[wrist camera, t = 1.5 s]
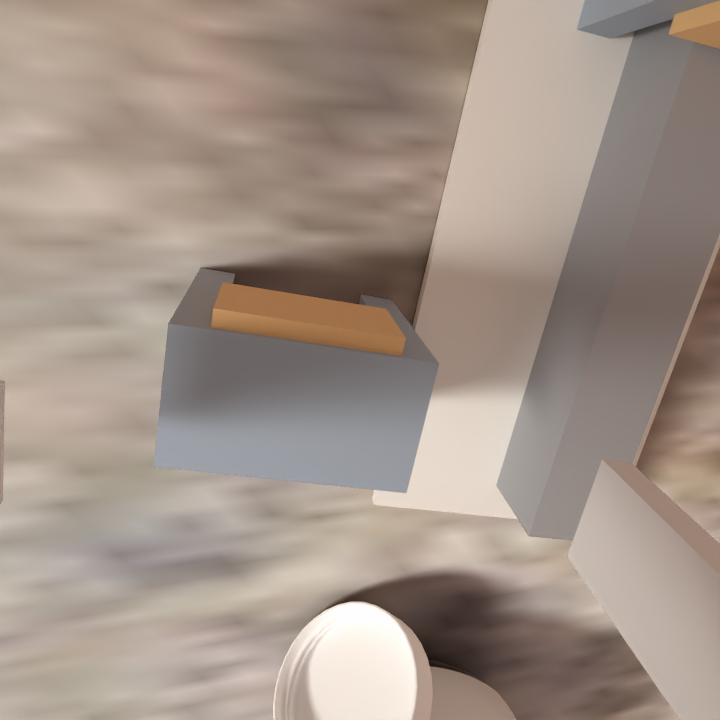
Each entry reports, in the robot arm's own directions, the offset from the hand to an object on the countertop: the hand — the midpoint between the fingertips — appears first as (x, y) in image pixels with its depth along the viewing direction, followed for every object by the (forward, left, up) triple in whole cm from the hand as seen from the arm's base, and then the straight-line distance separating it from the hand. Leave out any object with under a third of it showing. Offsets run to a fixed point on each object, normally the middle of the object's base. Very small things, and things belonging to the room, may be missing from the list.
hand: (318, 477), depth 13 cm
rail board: (+10, +7, -10) cm, 16 cm away
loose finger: (0, 0, -10) cm, 10 cm away
